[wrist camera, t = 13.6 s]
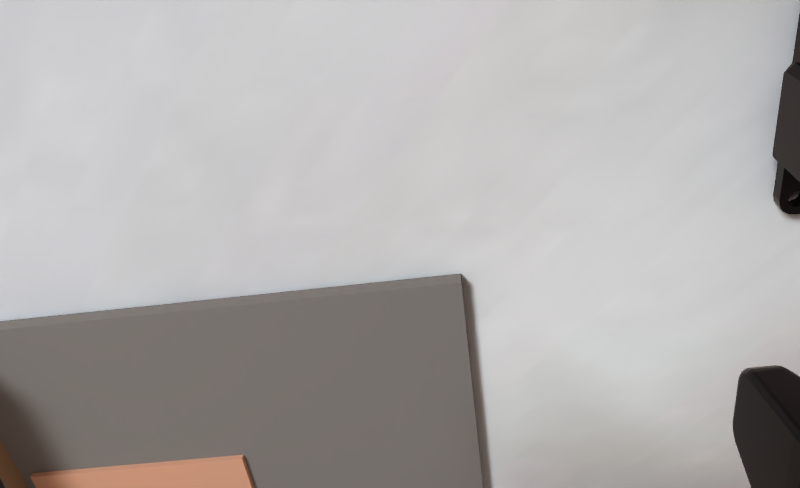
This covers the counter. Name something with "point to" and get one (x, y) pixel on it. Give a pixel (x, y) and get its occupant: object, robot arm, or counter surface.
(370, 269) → the counter surface
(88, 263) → the counter surface
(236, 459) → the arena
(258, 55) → the counter surface
